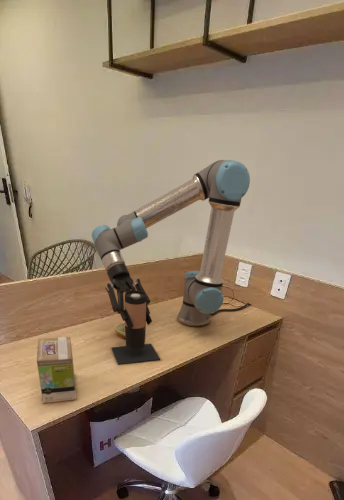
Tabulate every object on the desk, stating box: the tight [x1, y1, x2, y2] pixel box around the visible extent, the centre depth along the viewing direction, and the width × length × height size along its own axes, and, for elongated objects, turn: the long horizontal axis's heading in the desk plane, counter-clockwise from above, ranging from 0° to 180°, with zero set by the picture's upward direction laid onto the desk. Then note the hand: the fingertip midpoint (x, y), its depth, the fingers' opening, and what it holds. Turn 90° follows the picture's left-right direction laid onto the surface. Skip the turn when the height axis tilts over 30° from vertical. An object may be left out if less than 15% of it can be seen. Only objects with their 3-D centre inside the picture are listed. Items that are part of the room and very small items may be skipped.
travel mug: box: [124, 290, 147, 350], centre depth 123 cm, size 8×8×20 cm
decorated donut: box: [114, 322, 126, 339], centre depth 144 cm, size 10×11×4 cm
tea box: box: [36, 336, 77, 404], centre depth 105 cm, size 15×10×15 cm, turn 17°
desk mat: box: [111, 343, 161, 366], centre depth 130 cm, size 16×13×1 cm
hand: (140, 325), depth 121 cm, fingers closed on travel mug, 7 cm apart
